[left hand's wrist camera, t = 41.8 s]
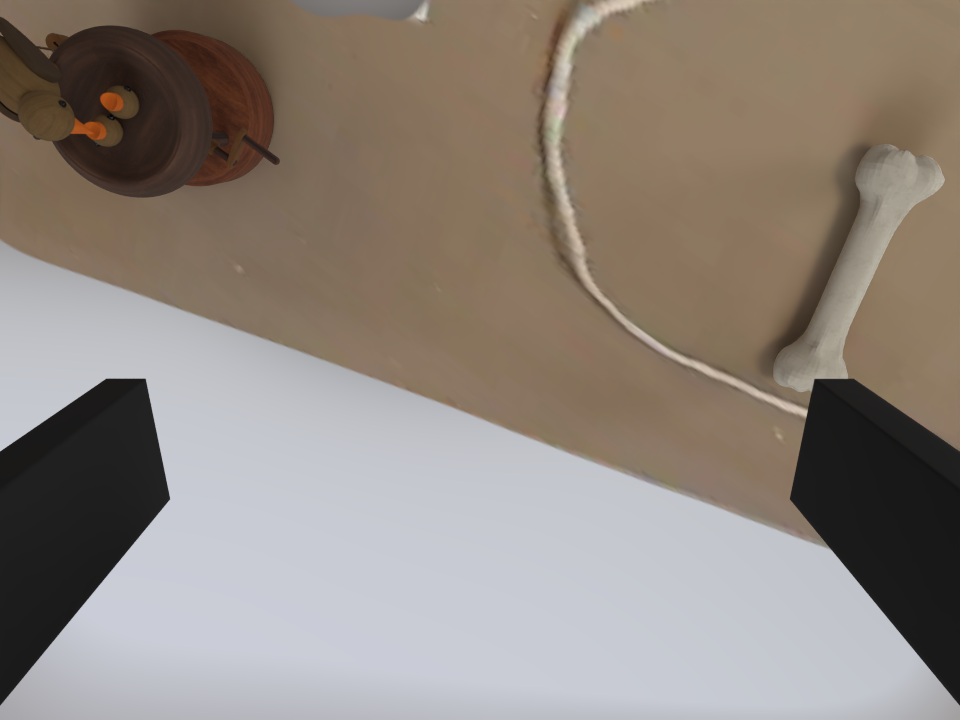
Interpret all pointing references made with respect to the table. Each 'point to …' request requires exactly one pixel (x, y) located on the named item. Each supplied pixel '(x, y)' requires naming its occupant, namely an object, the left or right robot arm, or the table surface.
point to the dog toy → (857, 261)
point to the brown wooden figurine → (139, 106)
